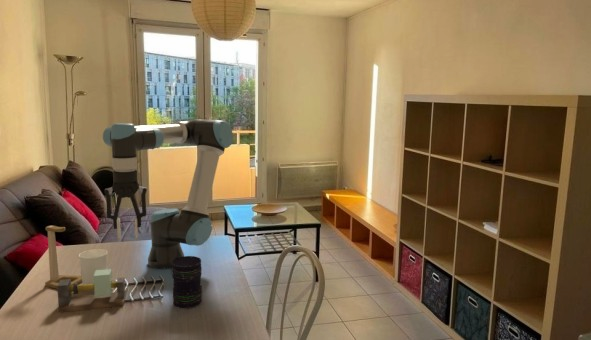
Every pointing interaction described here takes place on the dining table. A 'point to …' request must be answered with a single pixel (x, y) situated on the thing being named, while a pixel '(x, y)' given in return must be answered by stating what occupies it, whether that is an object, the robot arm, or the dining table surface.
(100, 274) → the sleeve
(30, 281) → the dining table surface
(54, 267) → the headphone stand
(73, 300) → the rail
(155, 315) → the dining table surface
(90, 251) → the candle holder
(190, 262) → the storage jar
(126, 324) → the dining table surface
